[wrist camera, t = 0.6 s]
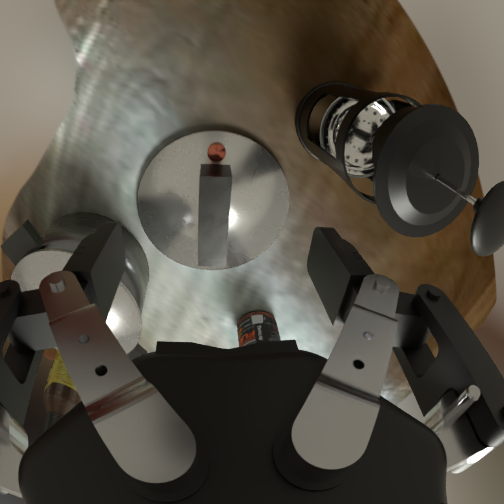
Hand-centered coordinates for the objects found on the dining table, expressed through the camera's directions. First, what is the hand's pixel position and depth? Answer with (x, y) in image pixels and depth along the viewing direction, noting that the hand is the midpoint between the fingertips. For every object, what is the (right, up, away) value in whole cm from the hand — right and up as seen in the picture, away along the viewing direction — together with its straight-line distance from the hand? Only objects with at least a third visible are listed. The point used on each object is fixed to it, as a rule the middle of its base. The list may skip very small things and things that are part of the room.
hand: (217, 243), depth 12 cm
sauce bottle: (-28, -15, +31) cm, 45 cm away
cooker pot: (-20, -2, +23) cm, 31 cm away
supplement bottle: (+2, -11, +33) cm, 34 cm away
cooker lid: (-3, +5, +21) cm, 22 cm away
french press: (+11, +14, +17) cm, 25 cm away
